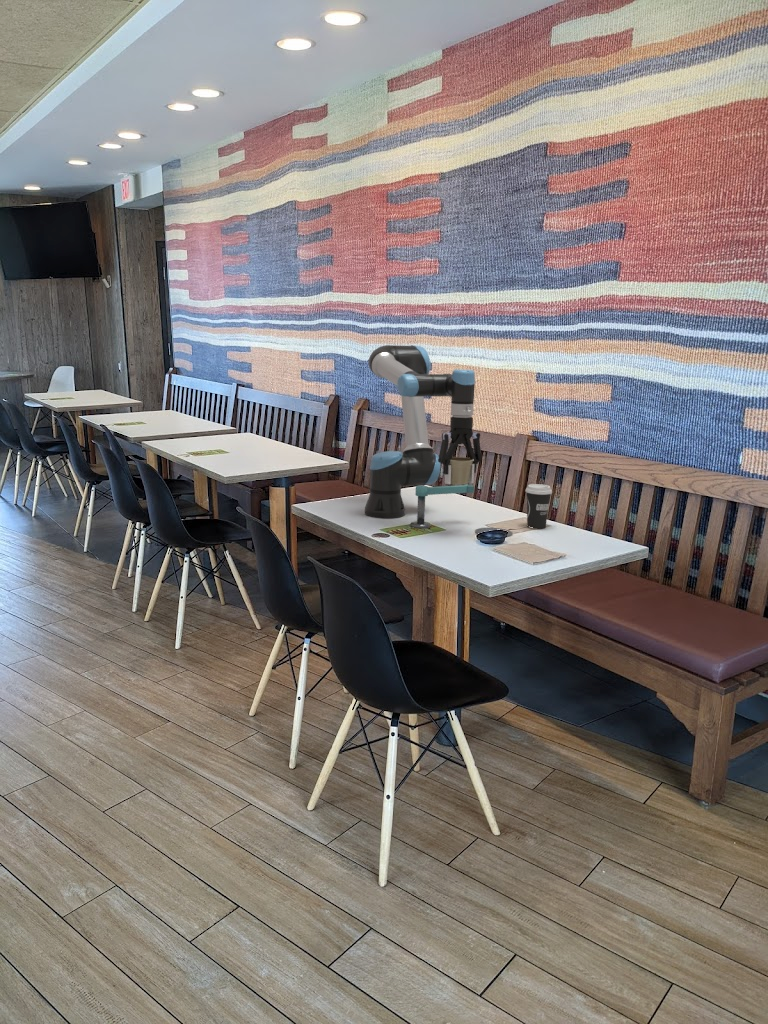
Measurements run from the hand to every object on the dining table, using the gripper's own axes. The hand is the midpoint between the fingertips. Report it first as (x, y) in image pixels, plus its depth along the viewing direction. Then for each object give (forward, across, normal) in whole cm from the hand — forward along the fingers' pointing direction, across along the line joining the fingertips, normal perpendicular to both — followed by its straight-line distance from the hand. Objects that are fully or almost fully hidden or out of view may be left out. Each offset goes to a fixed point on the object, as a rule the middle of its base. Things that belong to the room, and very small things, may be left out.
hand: (459, 483), depth 282 cm
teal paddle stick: (+6, +2, +13) cm, 15 cm away
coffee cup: (+18, +33, 0) cm, 37 cm away
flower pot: (+1, 0, 0) cm, 1 cm away
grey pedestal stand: (+18, -7, +14) cm, 24 cm away
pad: (+18, +13, -3) cm, 22 cm away
